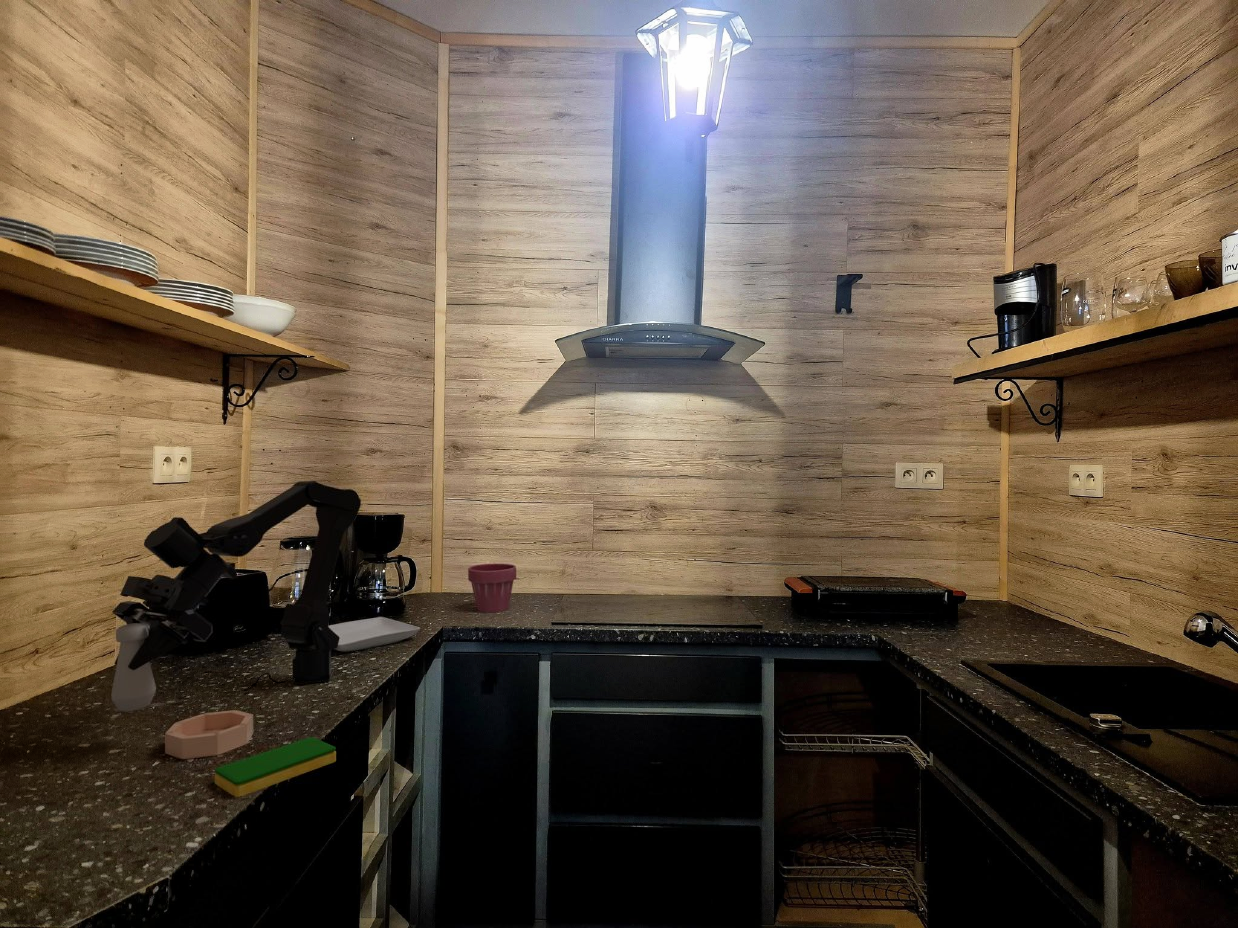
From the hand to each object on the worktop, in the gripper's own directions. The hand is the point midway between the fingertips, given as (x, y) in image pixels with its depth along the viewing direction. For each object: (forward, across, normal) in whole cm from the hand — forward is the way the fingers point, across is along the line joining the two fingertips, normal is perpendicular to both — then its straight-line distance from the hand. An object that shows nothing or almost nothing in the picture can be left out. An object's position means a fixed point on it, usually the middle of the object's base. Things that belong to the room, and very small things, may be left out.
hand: (123, 667), depth 108 cm
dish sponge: (+6, +31, +11) cm, 33 cm away
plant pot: (-65, -8, +84) cm, 106 cm away
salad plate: (-34, -16, +53) cm, 65 cm away
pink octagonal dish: (+4, +12, +12) cm, 18 cm away
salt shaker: (+4, 0, +6) cm, 7 cm away
